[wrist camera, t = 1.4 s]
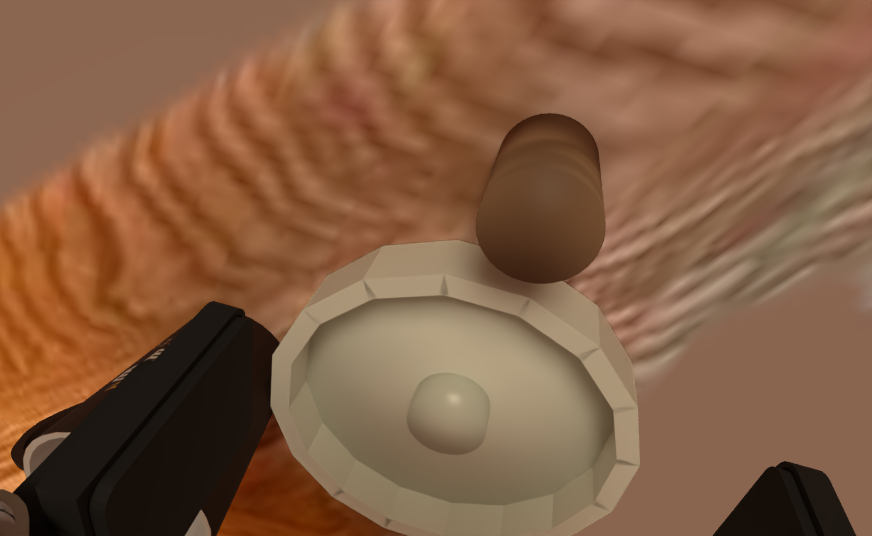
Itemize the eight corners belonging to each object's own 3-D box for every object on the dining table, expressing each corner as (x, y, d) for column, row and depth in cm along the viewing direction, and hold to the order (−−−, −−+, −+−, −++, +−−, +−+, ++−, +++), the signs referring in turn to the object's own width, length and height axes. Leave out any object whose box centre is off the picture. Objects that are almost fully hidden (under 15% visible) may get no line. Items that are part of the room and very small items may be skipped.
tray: (696, 305, 24) (710, 348, 22) (567, 538, 34) (566, 586, 32) (306, 198, 26) (277, 227, 23) (288, 450, 36) (267, 490, 33)
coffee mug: (321, 330, 30) (222, 487, 21) (293, 431, 35) (202, 591, 26) (119, 247, 30) (-59, 371, 22) (118, 359, 35) (-29, 496, 26)
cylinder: (614, 128, 21) (625, 189, 16) (580, 219, 24) (580, 297, 19) (512, 102, 22) (492, 154, 17) (487, 194, 24) (463, 265, 19)
